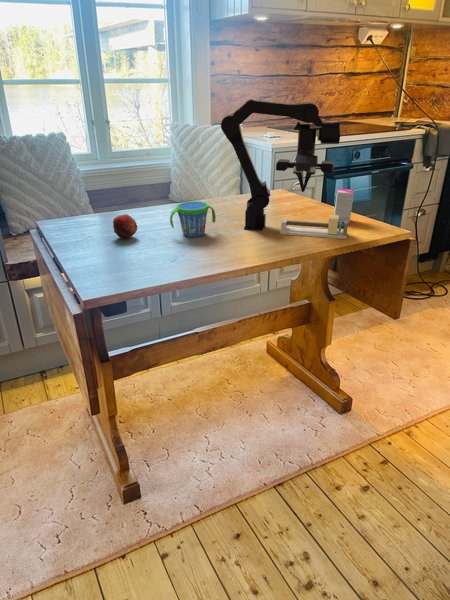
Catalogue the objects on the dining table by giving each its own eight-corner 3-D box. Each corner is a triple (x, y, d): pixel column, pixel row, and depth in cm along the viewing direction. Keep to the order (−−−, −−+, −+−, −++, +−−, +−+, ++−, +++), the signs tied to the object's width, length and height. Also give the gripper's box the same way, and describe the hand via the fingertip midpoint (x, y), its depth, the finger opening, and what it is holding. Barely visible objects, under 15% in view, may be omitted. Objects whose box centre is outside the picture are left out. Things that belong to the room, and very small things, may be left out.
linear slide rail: (280, 234, 159) (281, 220, 157) (282, 228, 164) (283, 215, 162) (346, 239, 154) (347, 225, 152) (346, 233, 160) (348, 219, 157)
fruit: (141, 235, 159) (139, 212, 155) (131, 243, 152) (129, 219, 148) (120, 233, 160) (118, 211, 157) (110, 241, 154) (107, 217, 150)
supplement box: (350, 224, 168) (353, 193, 163) (333, 223, 169) (336, 192, 164) (349, 219, 173) (353, 189, 168) (333, 218, 174) (336, 188, 169)
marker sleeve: (327, 233, 156) (329, 219, 153) (328, 229, 160) (329, 215, 158) (336, 234, 155) (338, 219, 153) (337, 230, 159) (338, 215, 157)
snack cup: (173, 241, 153) (171, 211, 149) (168, 231, 162) (167, 202, 158) (219, 237, 157) (218, 207, 152) (212, 227, 166) (211, 199, 161)
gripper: (274, 147, 147) (272, 196, 154) (334, 149, 143) (329, 199, 150) (279, 141, 156) (277, 188, 163) (335, 143, 152) (331, 190, 159)
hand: (303, 191), depth 159 cm, fingers closed
